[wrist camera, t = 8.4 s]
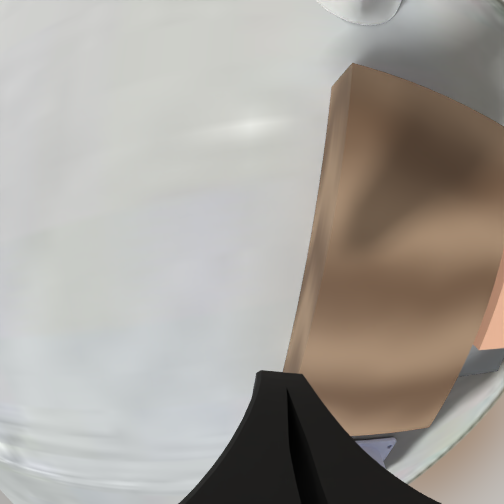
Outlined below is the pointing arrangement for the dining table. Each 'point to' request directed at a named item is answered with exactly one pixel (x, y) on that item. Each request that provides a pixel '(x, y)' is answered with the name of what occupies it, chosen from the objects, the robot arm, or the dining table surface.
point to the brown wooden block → (397, 251)
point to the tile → (493, 316)
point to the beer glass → (362, 10)
